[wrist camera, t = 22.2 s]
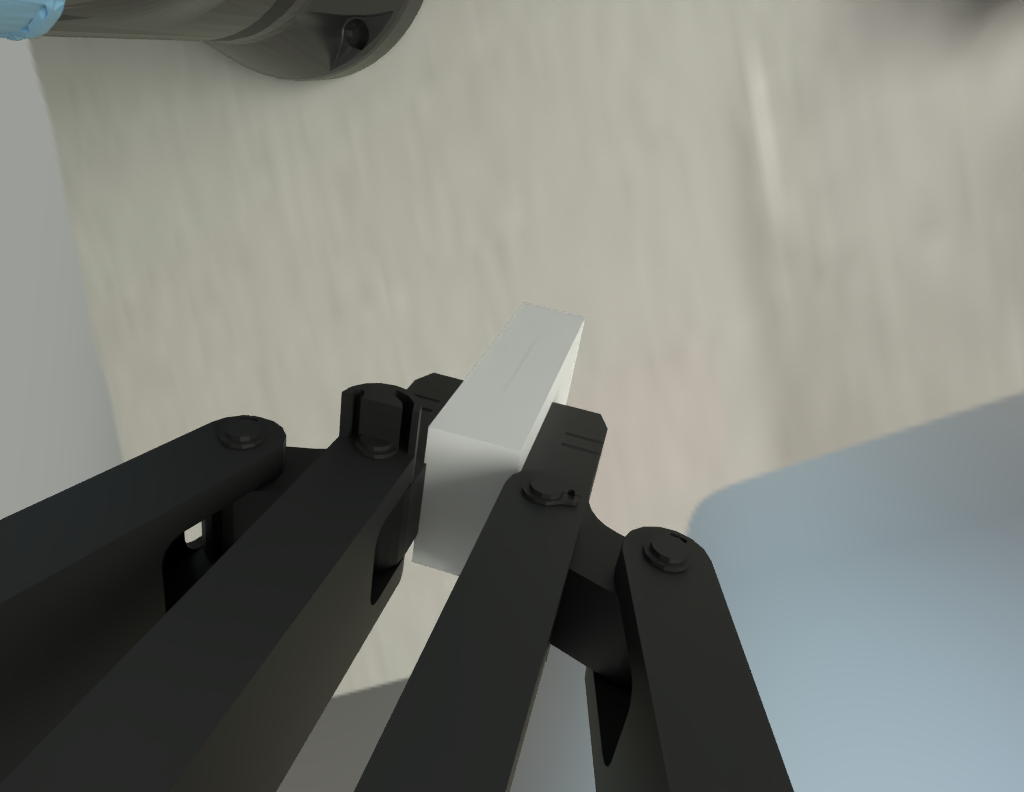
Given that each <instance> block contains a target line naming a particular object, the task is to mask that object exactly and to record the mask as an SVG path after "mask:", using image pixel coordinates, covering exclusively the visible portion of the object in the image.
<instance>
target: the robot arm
mask: <svg viewBox="0 0 1024 792" xmlns="http://www.w3.org/2000/svg"><path fill="white" fill-rule="evenodd" d="M422 2H423V0H0V37H1V38H7V39H9V40H16V41H19V40H22V39H26V38H28V39H31V38H38V37H40V36H57V37H91V38H125V39H159V40H193V41H201V40H202V41H204V42H205V43H207V44H208V45H210V46H212V47H213V48H215V49H216V50H218V51H220V52H221V53H223V54H224V55H226V56H228V57H229V58H231V59H233V60H234V61H236V62H237V63H239V64H241V65H243V66H245V67H247V68H249V69H251V70H254V71H256V72H259V73H262V74H265V75H268V76H272V77H276V78H280V79H287V80H298V81H302V80H326V79H334V78H339V77H343V76H346V75H350V74H352V73H355V72H357V71H360V70H362V69H364V68H366V67H368V66H369V65H371V64H372V63H374V62H376V61H377V60H378V59H380V58H381V57H382V56H383V55H385V54H386V53H387V52H388V51H389V50H390V49H391V48H392V47H393V46H394V45H395V44H396V43H397V42H398V41H399V40H400V38H401V37H402V36H403V35H404V33H405V32H406V31H407V29H408V28H409V26H410V25H411V23H412V22H413V20H414V18H415V16H416V15H417V13H418V11H419V9H420V7H421V5H422ZM584 321H585V317H584V316H580V315H575V314H571V313H567V312H563V311H559V310H555V309H550V308H546V307H542V306H538V305H534V304H530V303H525V302H524V303H523V304H522V305H521V307H520V308H519V309H518V311H517V312H516V313H515V314H514V316H513V317H512V318H511V320H510V321H509V322H508V324H507V325H506V326H505V328H504V329H503V330H502V331H501V333H500V334H499V335H498V337H497V338H496V339H495V341H494V342H493V343H492V345H491V346H490V347H489V348H488V350H487V351H486V352H485V354H484V355H483V356H482V358H481V359H480V360H479V362H478V363H477V364H476V365H475V367H474V368H473V369H472V371H471V372H470V373H469V375H468V376H467V377H466V379H465V380H464V381H463V380H460V379H456V378H452V377H448V376H444V375H440V374H437V373H432V374H429V375H427V376H424V377H422V378H419V379H417V380H415V381H414V382H413V383H412V384H411V385H410V386H409V388H408V389H407V390H406V389H404V388H401V387H398V386H395V385H389V384H383V383H365V384H361V385H356V386H352V387H350V388H348V389H346V390H345V391H343V392H342V398H341V415H340V432H339V437H338V438H337V439H336V440H335V441H334V442H333V443H332V444H331V445H330V446H329V447H328V448H327V449H311V448H298V447H286V434H285V432H284V430H283V428H282V427H281V426H279V425H278V424H277V423H275V422H274V421H271V420H268V419H265V418H261V417H257V416H250V415H240V416H234V417H226V418H223V419H220V420H217V421H214V422H211V423H209V424H207V425H204V426H202V427H200V428H198V429H196V430H194V431H191V432H189V433H187V434H185V435H183V436H181V437H179V438H176V439H174V440H172V441H170V442H168V443H166V444H163V445H161V446H159V447H157V448H155V449H153V450H150V451H148V452H146V453H144V454H142V455H140V456H137V457H135V458H133V459H131V460H129V461H127V462H124V463H122V464H120V465H118V466H116V467H114V468H112V469H109V470H107V471H105V472H103V473H101V474H98V475H96V476H94V477H92V478H90V479H88V480H86V481H83V482H81V483H79V484H77V485H75V486H73V487H70V488H68V489H66V490H64V491H62V492H60V493H58V494H55V495H53V496H51V497H49V498H47V499H44V500H42V501H40V502H38V503H36V504H34V505H32V506H29V507H27V508H25V509H23V510H21V511H19V512H16V513H14V514H12V515H10V516H8V517H5V518H3V519H2V520H0V792H276V791H277V789H278V788H279V786H280V784H281V783H282V781H283V779H284V777H285V776H286V774H287V772H288V771H289V769H290V767H291V766H292V764H293V762H294V760H295V759H296V757H297V755H298V754H299V752H300V750H301V748H302V747H303V745H304V743H305V742H306V740H307V738H308V736H309V735H310V733H311V732H312V730H313V728H314V726H315V725H316V723H317V721H318V720H319V718H320V716H321V715H322V713H323V711H324V709H325V707H326V706H327V704H328V703H329V701H330V699H331V698H332V696H333V694H334V692H335V691H336V689H337V687H338V686H339V684H340V682H341V681H342V679H343V677H344V675H345V674H346V672H347V670H348V669H349V667H350V665H351V664H352V662H353V660H354V658H355V657H356V655H357V653H358V652H359V650H360V648H361V647H362V645H363V643H364V641H365V640H366V638H367V636H368V635H369V633H370V631H371V630H372V628H373V626H374V624H375V623H376V621H377V619H378V618H379V616H380V614H381V613H382V611H383V609H384V607H385V606H386V604H387V602H388V601H389V599H390V597H391V596H392V594H393V592H394V590H395V589H396V587H397V585H398V584H399V582H400V579H401V576H402V572H403V565H404V556H405V553H406V552H407V550H408V549H409V547H410V545H411V544H412V542H413V540H414V539H415V540H414V548H413V556H412V562H415V563H418V564H421V565H425V566H428V567H431V568H435V569H438V570H441V571H445V572H448V573H451V574H454V575H458V576H459V578H458V580H457V582H456V584H455V586H454V588H453V590H452V592H451V594H450V596H449V598H448V600H447V602H446V604H445V606H444V608H443V610H442V612H441V615H440V617H439V619H438V621H437V623H436V625H435V627H434V629H433V631H432V633H431V635H430V637H429V639H428V641H427V643H426V645H425V647H424V649H423V651H422V653H421V655H420V657H419V660H418V662H417V664H416V666H415V668H414V670H413V672H412V674H411V676H410V678H409V680H408V682H407V684H406V686H405V688H404V690H403V692H402V694H401V696H400V698H399V700H398V703H397V705H396V707H395V709H394V711H393V713H392V715H391V717H390V719H389V721H388V723H387V725H386V727H385V729H384V731H383V733H382V735H381V737H380V739H379V741H378V744H377V745H376V748H375V750H374V752H373V754H372V756H371V758H370V760H369V762H368V764H367V766H366V768H365V770H364V772H363V774H362V776H361V778H360V780H359V783H358V784H357V787H356V788H355V791H354V792H510V788H511V785H512V781H513V777H514V774H515V770H516V766H517V763H518V759H519V756H520V752H521V748H522V745H523V741H524V737H525V734H526V730H527V727H528V722H529V719H530V716H531V712H532V708H533V704H534V701H535V697H536V694H537V690H538V687H539V683H540V679H541V676H542V672H543V668H544V664H545V662H546V660H547V655H548V652H549V648H550V644H552V645H553V646H555V647H557V648H558V649H560V650H561V651H563V652H565V653H566V654H568V655H569V656H571V657H573V658H574V659H576V660H577V661H579V662H581V663H582V664H584V665H585V666H586V673H585V685H586V695H587V704H588V714H589V725H590V733H591V734H590V735H591V745H592V755H593V765H594V775H595V785H596V792H794V790H793V788H792V785H791V782H790V779H789V776H788V774H787V771H786V768H785V765H784V763H783V760H782V757H781V754H780V751H779V749H778V746H777V743H776V740H775V737H774V735H773V732H772V729H771V726H770V723H769V721H768V718H767V715H766V712H765V709H764V707H763V704H762V701H761V698H760V696H759V693H758V690H757V687H756V684H755V682H754V679H753V676H752V673H751V670H750V668H749V665H748V662H747V659H746V656H745V654H744V651H743V648H742V645H741V643H740V640H739V637H738V634H737V632H736V629H735V626H734V623H733V620H732V617H731V615H730V612H729V609H728V606H727V603H726V601H725V598H724V595H723V592H722V589H721V587H720V584H719V581H718V578H717V575H716V573H715V570H714V567H713V564H712V562H711V560H710V558H709V557H708V555H707V553H706V552H705V550H704V549H703V548H702V547H700V546H699V545H698V544H697V543H695V541H693V540H692V539H691V538H689V537H687V536H685V535H683V534H681V533H679V532H677V531H673V530H670V529H666V528H662V527H641V528H638V529H635V530H632V531H630V532H629V533H628V534H627V535H626V537H624V536H622V535H620V534H619V533H617V532H615V531H613V530H612V529H610V528H609V527H607V526H606V525H604V524H603V523H602V522H601V521H600V520H599V519H598V518H597V517H596V516H595V514H594V513H593V512H592V510H591V507H590V504H589V498H590V495H591V491H592V487H593V483H594V480H595V476H596V472H597V468H598V464H599V460H600V456H601V452H602V448H603V444H604V441H605V437H606V433H607V427H606V424H605V422H604V420H603V418H602V416H601V414H598V413H594V412H590V411H586V410H582V409H578V408H575V407H571V406H567V405H566V402H567V398H568V393H569V389H570V384H571V380H572V375H573V371H574V366H575V362H576V357H577V353H578V348H579V344H580V339H581V335H582V330H583V326H584ZM201 521H202V536H201V537H199V538H198V539H196V540H194V541H192V542H189V543H186V542H185V535H184V531H186V530H187V529H189V528H191V527H192V526H194V525H196V524H197V523H199V522H201Z"/></svg>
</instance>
